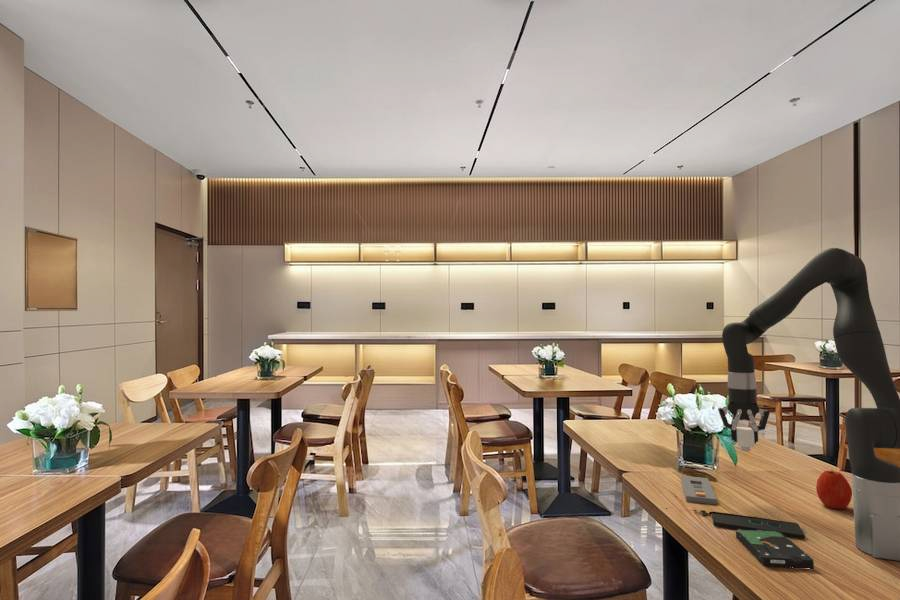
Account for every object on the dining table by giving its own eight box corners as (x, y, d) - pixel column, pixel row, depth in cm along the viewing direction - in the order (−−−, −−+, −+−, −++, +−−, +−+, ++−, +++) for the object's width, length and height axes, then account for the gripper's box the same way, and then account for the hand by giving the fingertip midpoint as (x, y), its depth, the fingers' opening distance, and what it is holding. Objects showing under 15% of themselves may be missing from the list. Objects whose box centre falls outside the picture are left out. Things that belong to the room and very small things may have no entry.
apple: (849, 504, 140) (847, 467, 140) (856, 514, 132) (854, 475, 133) (815, 499, 144) (813, 463, 144) (819, 508, 137) (817, 471, 137)
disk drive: (815, 572, 103) (779, 541, 118) (815, 559, 104) (779, 529, 118) (764, 569, 105) (734, 538, 120) (763, 557, 105) (734, 527, 120)
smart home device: (805, 534, 118) (713, 521, 126) (805, 542, 117) (713, 528, 126) (797, 522, 125) (711, 510, 134) (798, 528, 125) (711, 516, 134)
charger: (754, 452, 143) (753, 430, 143) (738, 451, 145) (737, 429, 145) (751, 448, 147) (750, 427, 148) (735, 447, 149) (734, 426, 149)
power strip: (720, 518, 131) (720, 505, 131) (688, 514, 134) (688, 501, 134) (708, 487, 156) (707, 476, 156) (681, 484, 159) (680, 473, 159)
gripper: (717, 387, 146) (720, 443, 145) (772, 389, 141) (775, 447, 140) (714, 384, 153) (716, 438, 152) (765, 385, 148) (768, 441, 147)
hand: (744, 442), depth 146 cm, fingers closed on charger, 4 cm apart
